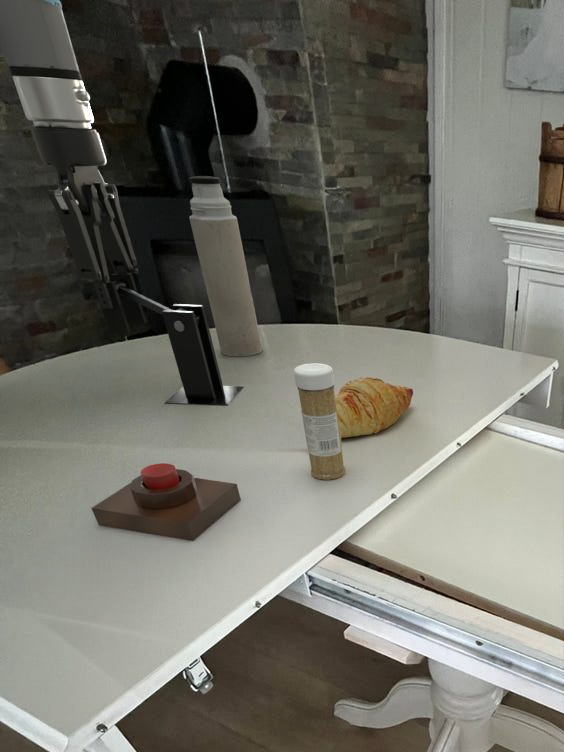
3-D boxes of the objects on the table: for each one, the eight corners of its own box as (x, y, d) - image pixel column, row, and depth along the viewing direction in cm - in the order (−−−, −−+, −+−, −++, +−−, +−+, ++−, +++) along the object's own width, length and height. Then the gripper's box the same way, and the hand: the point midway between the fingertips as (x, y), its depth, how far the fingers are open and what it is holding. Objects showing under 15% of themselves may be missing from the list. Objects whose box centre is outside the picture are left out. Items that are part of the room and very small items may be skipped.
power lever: (101, 296, 85) (103, 279, 84) (117, 289, 89) (119, 273, 87) (188, 338, 89) (191, 322, 87) (200, 329, 92) (203, 314, 91)
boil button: (138, 489, 66) (133, 474, 65) (159, 475, 69) (154, 461, 68) (167, 493, 65) (162, 478, 64) (186, 479, 68) (182, 465, 67)
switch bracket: (166, 410, 94) (136, 314, 85) (187, 391, 100) (161, 300, 91) (229, 412, 94) (206, 316, 85) (246, 393, 101) (226, 303, 92)
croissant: (330, 471, 87) (341, 431, 80) (284, 425, 87) (291, 381, 81) (423, 427, 100) (439, 389, 93) (382, 387, 100) (395, 346, 94)
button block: (98, 525, 67) (84, 493, 64) (154, 487, 74) (143, 456, 71) (193, 541, 65) (182, 508, 62) (241, 500, 72) (233, 469, 70)
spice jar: (344, 465, 81) (331, 361, 72) (346, 480, 77) (333, 372, 69) (310, 467, 80) (293, 362, 71) (310, 482, 76) (292, 374, 68)
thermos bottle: (240, 343, 123) (203, 174, 105) (270, 349, 121) (238, 177, 103) (212, 352, 118) (168, 175, 99) (243, 358, 115) (204, 178, 97)
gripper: (54, 126, 68) (127, 344, 83) (125, 127, 81) (176, 314, 97) (-12, 123, 68) (73, 342, 83) (70, 124, 81) (130, 312, 97)
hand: (128, 326), depth 90 cm, fingers closed on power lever, 5 cm apart
